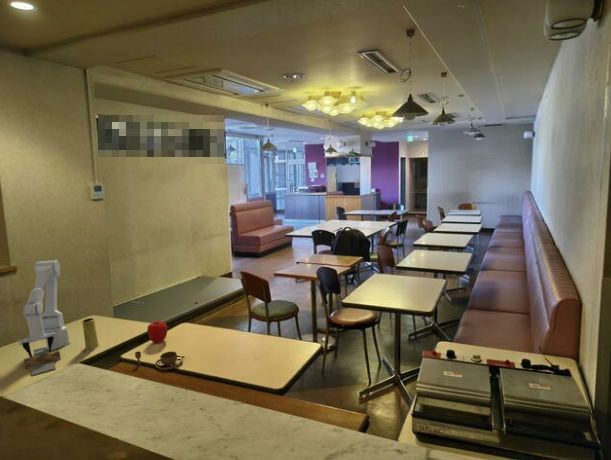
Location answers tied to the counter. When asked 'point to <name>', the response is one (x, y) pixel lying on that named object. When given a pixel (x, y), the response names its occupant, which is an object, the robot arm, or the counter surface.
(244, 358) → the counter surface
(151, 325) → the apple
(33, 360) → the walnut screen
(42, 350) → the slate cube
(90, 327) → the vase
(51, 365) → the mat
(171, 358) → the place setting
